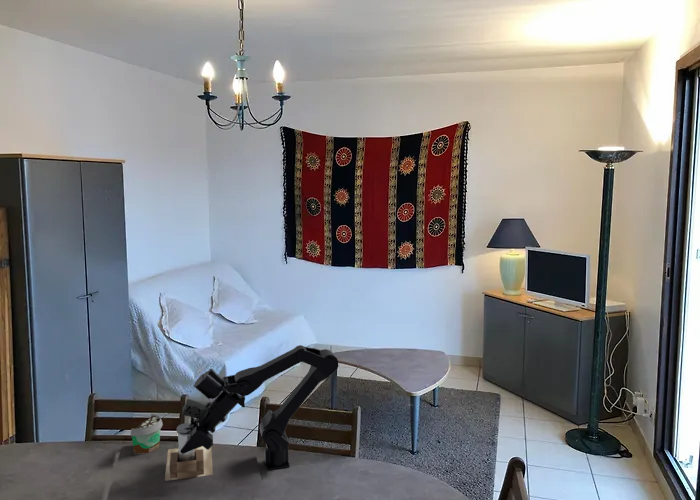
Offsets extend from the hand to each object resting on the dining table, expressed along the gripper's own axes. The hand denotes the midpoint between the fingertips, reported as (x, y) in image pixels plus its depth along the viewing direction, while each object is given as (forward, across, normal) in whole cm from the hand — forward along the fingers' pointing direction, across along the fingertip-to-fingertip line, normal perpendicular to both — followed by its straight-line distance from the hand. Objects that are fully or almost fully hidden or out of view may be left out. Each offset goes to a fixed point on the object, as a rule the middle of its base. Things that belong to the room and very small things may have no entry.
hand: (181, 448), depth 162 cm
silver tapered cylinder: (+4, 0, +6) cm, 7 cm away
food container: (+13, -17, -1) cm, 21 cm away
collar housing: (+4, -5, +7) cm, 10 cm away
